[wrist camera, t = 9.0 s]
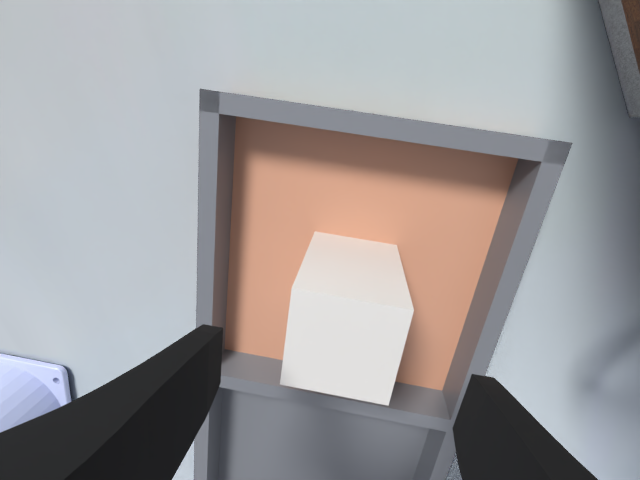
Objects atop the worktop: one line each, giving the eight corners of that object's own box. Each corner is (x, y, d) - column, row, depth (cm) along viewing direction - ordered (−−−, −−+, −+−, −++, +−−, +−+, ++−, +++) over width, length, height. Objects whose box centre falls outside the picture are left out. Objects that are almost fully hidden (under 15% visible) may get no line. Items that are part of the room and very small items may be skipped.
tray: (399, 538, 25) (403, 591, 22) (211, 497, 26) (192, 543, 23) (534, 137, 16) (572, 143, 13) (227, 93, 16) (199, 88, 14)
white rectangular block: (380, 315, 18) (388, 405, 13) (305, 302, 18) (279, 384, 13) (396, 245, 17) (414, 310, 11) (314, 231, 17) (291, 288, 11)
